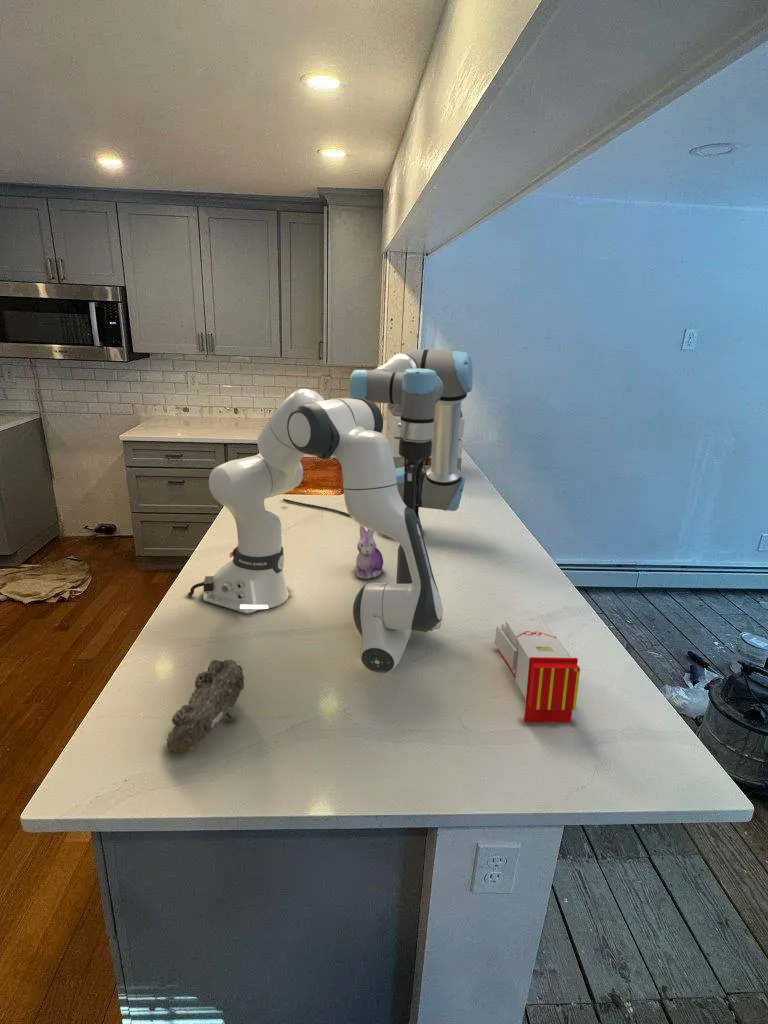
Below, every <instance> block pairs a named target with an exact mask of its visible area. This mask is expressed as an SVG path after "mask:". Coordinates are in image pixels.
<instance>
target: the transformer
mask: <svg viewBox="0 0 768 1024" xmlns="http://www.w3.org/2000/svg"><path fill="white" fill-rule="evenodd" d="M385 414H386V415H385V423H386V428H385V437H386V438H387V439H388V441H389V444H390V447H391V451H392V455H393V459H394V464H395V469H396V468H401V467H405V464H406V463H407V462H408V459H407V458H404V457H402V456H400V455H399V440H400V439H401V437H400V429H401V427H398V423H401V405H400V404H390V403H387V405H386V413H385ZM464 429H465V419H464V418H463V411H461V413H460V428H459V444H458V459H457V468H458V469H459V470H460V472H461V473H462V461H463V460H462V453H463V442H464V441H463V440H462V439H463V438H464V431H465V430H464ZM431 442H432V439H431ZM431 455H432V453H431ZM421 460H423V463H424V467H431V456H430V457H429V458H426V459H421Z"/></svg>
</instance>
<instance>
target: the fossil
mask: <svg viewBox="0 0 768 1024" xmlns="http://www.w3.org/2000/svg"><path fill="white" fill-rule="evenodd" d="M243 670H244V669H243V667H242V665H240V664H237V662H236V661H235V660H234V659H232V658H231V659H227V658H226V659H224V660H223V661H222V660H217V659H212V660H211V661H210V663H209V665H208V666H207V671H201V672H199V673H198V674H197V675H196V676H195V680H194V684H195V685H194V687H195V689H194V690H193V693H192V694H191V697H190V698H189V700H188V704H184V705H182V706H181V707H180V709H177V710H176V711H175V713H174V715H173V716H172V718H171V723H172V724H173V727H172V730H171V731H170V732H168V734H167V738H166V741H167V742H166V745H167V749H168V750H169V751H173V752H174V753H176V754H178V753H182V752H188V751H189V752H192V751H193V750H195V748H196V747H197V746H199V744H200V743H201V742H203V741H204V740H205V739H206V738H207V737H208V736H209V735H210V734H211V733H212V732H214V730H215V729H217V727H218V726H219V724H220V722H221V721H222V720H223V719H224V718H225V716H226V717H227V719H229V720H233V717H232V715H230V714H229V710H230V709H231V708H234V706H235V704H236V703H237V702H238V699H239V697H240V695H241V693H242V691H243V690H245V689H244V688H245V675H244V671H243Z"/></svg>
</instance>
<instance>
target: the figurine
mask: <svg viewBox="0 0 768 1024" xmlns="http://www.w3.org/2000/svg"><path fill="white" fill-rule="evenodd" d="M374 534H375V531H372V530H370V529H367V530H366V528H365V527H363V526H361V525H359V540H358V542H357V545H356V548H357V551H358V554H357V556H356V560H355V561H356V564H355V565H356V568H355V573H356V577H357V578H358V579H364V580H369V579H371V578H376V577H378V576H380V575H381V574H382V572H383V567H384V557H383V554H382V552H381V550H380V549H379V548H378V547H377V544H376V541H375V539H374Z"/></svg>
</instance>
